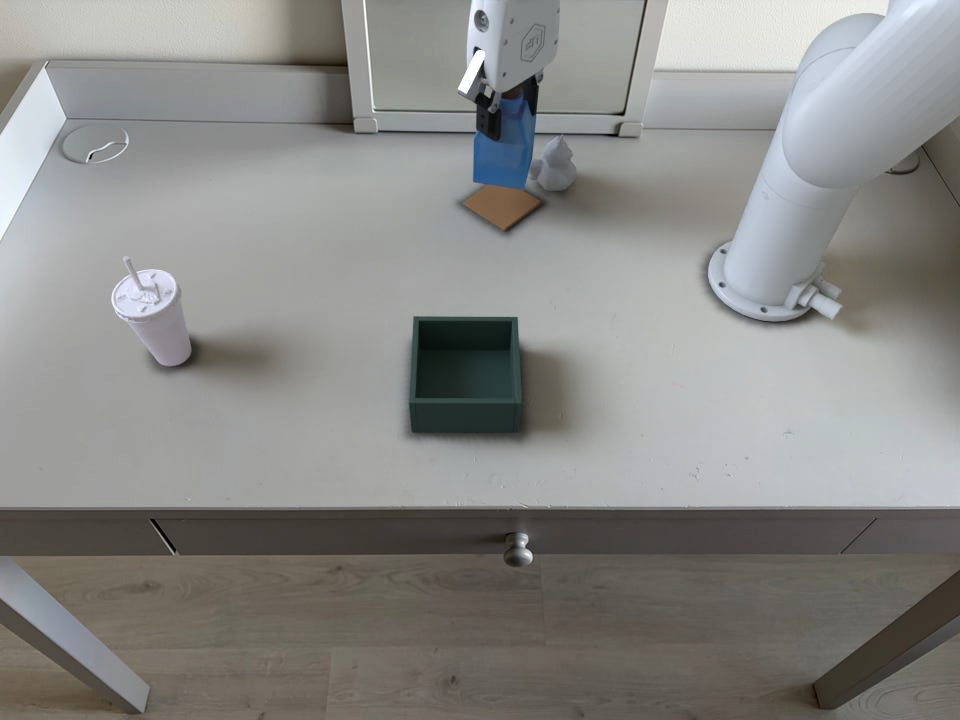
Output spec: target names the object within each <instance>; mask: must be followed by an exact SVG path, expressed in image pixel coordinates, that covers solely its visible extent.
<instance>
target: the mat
mask: <svg viewBox="0 0 960 720" xmlns="http://www.w3.org/2000/svg"><path fill="white" fill-rule="evenodd" d="M541 204H542V200H540V199H538V198H536V197H535V196H534V195H531V194H530V193H528V192H526V191H525V190H520V189H513V188H507V187H500V186H494V185H488V184H486V185H485V186H483V187H482V188H481V189H480V190H478V191H476V192H475V193H474V194H473V195H472V196H470V197H469V198H467V199H466V200H464V201H463V203H462V205H463V206H464V207H466V208H468V209H469V210H471V211H473V212H474V213H475V214H477V215H479V216H480V217H481V218H483V219H485V220H486V221H488V222H490V223H491V224H493V225H494V226H496V227H497V228H498V229H500V230H502V231H503V232H505V231H507V230H508V229H510V228H511V227H512V226H513V225H515V224H516V223H518V222H519V221H521V220H522V219H523V218H524V217H525V216H527V215H528V214H529V213H531V212H532V211H533V210H534V209H536V208H537V207H539V206H540V205H541Z"/></svg>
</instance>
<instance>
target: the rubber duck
mask: <svg viewBox="0 0 960 720" xmlns="http://www.w3.org/2000/svg"><path fill="white" fill-rule="evenodd" d="M573 157H574V152H573V151H572V149H571V148H569V145H568V143H567V141H566V140H564V134H563V133H562V134H561V135H560V136H559V135H557V136H555V137H554V138H553V139H551V140H550V141H549V142H548V143H547V144H546V146H545V147H544V150H543V152H542V157H541V158H533V157H532V161H531V165H530V169H529V173H528V176H527V179H529V180H532V181H537V182H538V183H539V184H540V186H541V187H542V188H543V189H544V190H545V191H547V192H548V191H549V192H559V191H564V190H566V189H568V188H569V187H570V186H571V185H572V184H573V183H574V181H575V180H576V177H577V173H578V170H577V167H576V165H575V164H574V162H573V161H572V160H571V159H572V158H573Z"/></svg>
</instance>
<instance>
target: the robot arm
mask: <svg viewBox="0 0 960 720" xmlns="http://www.w3.org/2000/svg"><path fill="white" fill-rule="evenodd" d="M469 10H470V11H469V18H468V27H467V39H466V40H467V42H466V69H467V70H466V72H465V74H464V76H463V78H462V80H461V82H460V84H459V86H458V88H457V94H458V95H459V96H461V97H463V98H464V99H465V100H468V101H470V102H471V103H473V104H475V105H476V112H475V113H476V115H475V129H476V131H478V130H479V131H480V132H481V133H482V134H484V135H485V136H486V137H488V138H489V139H491V140H493V141H495V142H496V141H498V140H499V139H500V137H501V119H502V110H501V109H499V108H498V106H499V102H500V99H501V95H502V93H503V92H506V91H508V90H510V89H512V88H513V87H515V86H517V85H518V84H520V83H521V82H523V85H522V90H523V100H527V102H528V105H529V108H530V112H531V115H533V116H535V115H536V116H537V113H538V112H537V111H538V102H539V92H540V91H539V90H540V85H539V84H540V83H542V81H543V80H544V78H545V77H544V76H545V75H544V69H545V68H546V67H548V65H550V64H551V63H552V62H553V61H554V60H555V58H556V56H557V52H558V46H559V36H560V35H559V34H560V16H561V0H471V3H470V9H469ZM794 75H795V76H794V77H793V78H794V79H793V81H792V85H791V87H790V90H789V93H788V96H787V99H786V102H785V104H784V107H783V110H782V113H781V115H780V119H779V120H778V124H777V127H776V129H775V132H774V135H773V136H772V139H771V142H770V145H769V147H768V150H767V152H766V155H765V158H764V160H763V163H762V164H761V167H760V169H759V172H758V174H757V177H756V180H755V183H754V185H753V186H752V187H753V188H752V189H751V193H750V196H749V198H748V200H747V204H746V206H745V208H744V211H743V214H742V216H741V218H740V221H739V224H738V226H737V229H736V231H735V234H734V236H733V239H732V240H730V241H728V242H725V243H724V244H722V245H721V246H719V247H718V248H717V249H716V250H715V252H713V254H712V256H711V258H710V261H709V264H708V268H707V277H708V282H709V284H710V286H711V289H712V291H713V292H714V293H715V295H716V296H717V298H719V300H721V301H722V303H723V304H725V305H727V306H728V307H729V308H731V309H732V310H733V311H735V312H737V313H739V314H741V315H743V316H746V317H748V318H752V319H754V320H759V321H765V322H786V321H791V320H794V319H796V318H799V317H801V316H803V315H804V314H806V313H807V312H808V311H809V310H810V309H811V308H813V309H815V310H816V311H818V314H820V315H823V316H824V317H826V318H828V319H830V320H831V321H834V320H835V319H836V318H837V316H838V315H839V314H840V312H841V310H842V309H843V307H844V305H843V304H841V303H840V302H838V301H836V300H837V298H838V297H839V296H840V295H841V293H842V291H843V289H842V288H840V287H838V286H836V285H835V284H833V283H830V282H828V281H826V280H825V276H823V275H821V274H822V272H823V270H824V269H825V266H826V264H827V263H826V262H824V261H822V259H823V257H824V255H825V253H826V251H827V250H828V247H829V245H830V243H831V242H832V241H833V240H832V239H834V236H835V234H836V232H837V230H838V229H839V226H840V224H841V223H842V220H843V219H844V217H845V215H846V213H847V211H848V210H849V207H850V206H851V204H852V202H853V200H854V198H855V197H856V196H857V193H858V191H859V190H860V188H861V186H862V184H865V183H867V182H869V181H872V180H874V179H875V178H878V177H880V176H881V175H883V174H885V173H886V172H887V171H889V170H891V169H893V167H895V166H896V165H898V164H899V163H900V162H902V161H903V160H904V159H906V158H907V157H908V156H910V155H911V154H912V153H913V152H915V151H916V150H917V149H918V148H920V147H922V145H924V144H925V143H927V141H929V140H930V139H932V138H933V137H934V136H936V134H938V133H939V132H941V131H942V130H943V129H945V128H946V127H947V126H949V125H950V124H951V123H952V122H953V121H955V120H956V119H957V118H958V117H960V0H888V5H887V10H886V13H885V15H883V14H879V13H872V12H861V13H853V14H850V15H847V16H844V17H842V18H840V19H838V20H836V21H834V22H832V23H831V24H829V25H827V26H826V27H824V29H822V30H821V31H820V32H819V33H818V34H817V36H816V37H815V38H814V39H813V40H812V41H811V43H810V44H809V46H808V47H807V48H806V50H805V52H804V53H803V55H802V57H801V59H800V62H799V65H798V67H797V69H796V73H795V74H794ZM487 87H489V88H490V89H491V93H490V96H487V94H485V93H486V88H487ZM822 293H823V294H822Z"/></svg>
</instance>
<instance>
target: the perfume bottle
mask: <svg viewBox="0 0 960 720" xmlns="http://www.w3.org/2000/svg"><path fill="white" fill-rule="evenodd" d="M522 85H523V82H521V83H520V84H518V85H517V86H515V87H513V88H512V89H510V90H508V91H506V92H503V93H502V95H501V99H500V102H499V106H498V108H499V109H501V110H502V119H501V137H500V139H499V140H498V141H496V142H495V141H493V140H491V139H489V138H488V137H486V136H485V135H484V134H482V133H481V132H480V131H479V130H478V131H477V130H476V132H475V135H474V137H473V159H472V160H473V161H472V163H473V164H472V183H475V184H481V185H482V184H483V185H494V186H500V187H507V188H513V189H520V190H523V191H525V188H526V184H527V180H528V177H527V176H528V173H529V169H530V165H531V161H532V158H533V157H534V144H535V134H536V125H537V124H536V123H537V114H536V115H535V116H533V115H531V112H530V108H529V105H528V102H527V100H523V90H522Z"/></svg>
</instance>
